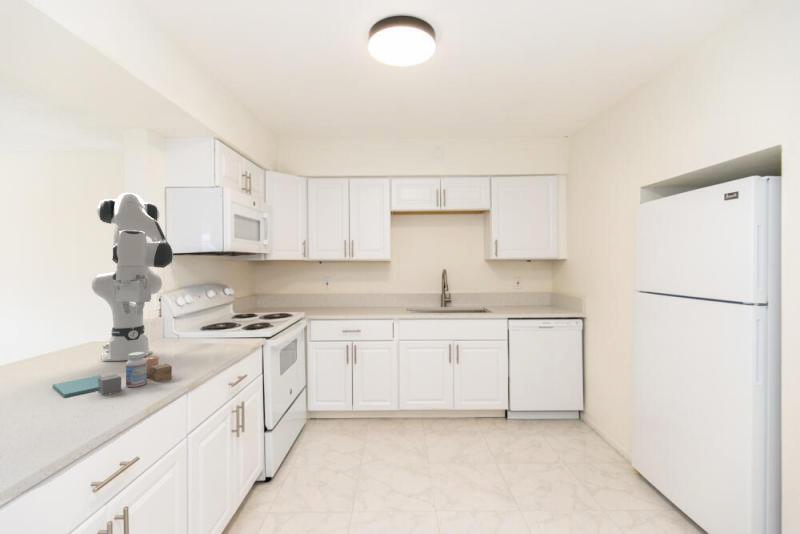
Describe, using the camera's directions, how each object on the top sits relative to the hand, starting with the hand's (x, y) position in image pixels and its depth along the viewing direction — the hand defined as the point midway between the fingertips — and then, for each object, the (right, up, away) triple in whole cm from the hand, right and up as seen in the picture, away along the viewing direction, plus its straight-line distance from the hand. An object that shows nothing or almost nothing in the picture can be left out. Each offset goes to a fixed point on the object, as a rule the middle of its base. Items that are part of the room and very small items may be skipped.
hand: (132, 314), depth 129 cm
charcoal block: (-4, -26, -5) cm, 26 cm away
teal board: (-17, -25, -1) cm, 30 cm away
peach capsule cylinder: (-1, -25, +12) cm, 28 cm away
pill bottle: (0, -26, +2) cm, 26 cm away
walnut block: (+5, -25, +8) cm, 27 cm away
